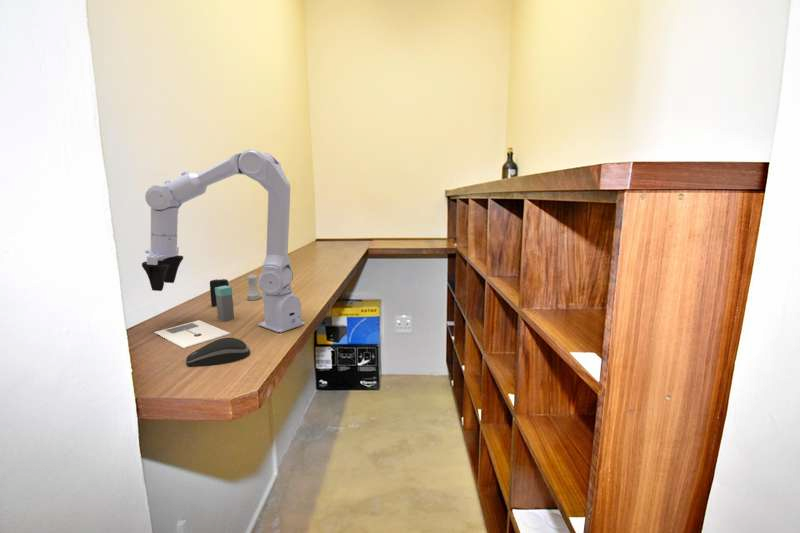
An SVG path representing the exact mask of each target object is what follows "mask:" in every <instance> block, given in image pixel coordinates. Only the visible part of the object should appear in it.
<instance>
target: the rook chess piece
mask: <svg viewBox="0 0 800 533" xmlns="http://www.w3.org/2000/svg"><path fill="white" fill-rule="evenodd" d="M246 279H247V280H248V281H247V284H248V291H247V293H246V296H247V297H246V299H247V300H248V301H257V300H261V297H262V296H261V292H260V290H259V289H258V288H259V287H258V285H257V284H258V281H257V279H259V277H258V276H257V274H256V273H251V274H248V275H247V277H246Z"/></svg>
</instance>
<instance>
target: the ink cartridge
mask: <svg viewBox="0 0 800 533" xmlns="http://www.w3.org/2000/svg"><path fill="white" fill-rule="evenodd" d="M225 285H226V286H229V285H230V284H229V279H226V278H225V279H224V278H221V279H212V280H210V281H209V291H210V301H211V302H210V303H211V306H212V307H217V302H216V295H215V287H220V286H225Z"/></svg>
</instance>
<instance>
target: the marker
mask: <svg viewBox="0 0 800 533" xmlns="http://www.w3.org/2000/svg"><path fill="white" fill-rule="evenodd" d="M215 295H216V302H217V306H216V312H217V320H219V321H222V322H226V321H230V320H234V319H235V311H234V302H233V301H234V300H233V287H232V286H226V285H225V286H220V287H215Z"/></svg>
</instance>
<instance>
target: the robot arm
mask: <svg viewBox="0 0 800 533" xmlns="http://www.w3.org/2000/svg"><path fill="white" fill-rule="evenodd" d="M281 164H282V163H280V161H278V160H277V158H275V157H274V156H273V155H272V154H270V153H267V152H262V151H258V150H256V149H250V148H249V149H246V150H244V151H243V152H238V153H236V154H233V155H231V156H230V157H228V158H226V159H225V160H223V161H220V162H218V163H217V164H215V165H213V166H211V167H209V168H207V169H206V170H204V171H202V172H200V173H197V172H194V171H183V172H181V173H180V176H179V177H177V178H174V179H173V180H165V181H164V182H163V186H162V185H159V184H158V185H156V184H155V185H151V187H149V188H148V189H147V191H146V192H145V195H144V196H145V199H144V200H145V202H146V204H147V206H148V207H150V249H149V248H148V249H146V250H145V251H144V253H145V254H147V255H148V256H146V261H143V262H142V263H141V267H142V269H143V270H144V271H145V273H146V275H147V277H148V281H149V284H150V287H151V290H152V291H154V292H155V291H156V292H158V291H159V292H162V291H163V289H164V286H165V283H168V284H174V283H175V280H176V277H177V273H178V270H179V268H180V265H181V263H182V261H183V260H184V256H183V255H179V248H180V247H178V222H179V221H178V218H179V217H178V216H179V215H178V214H179V209H180V208H181V206H183V204H184V203H186V202H189V201H190V200H192V199H195V198H198V197H200V196H202V195H204V194H205V193H206V191H207V188H208V186H211V185H213V184H215V183H218V182H220V181H223V180H225V179H227V178H230V177H232V176H235V175H242V176H243V175H244V176H246V177H248V178H250V179H252V180H254V181H256V182H257V183H258V184H260V185H261V187H263V188H264V190H266V192H267V219H266V222H267V224H266V225H267V226H266V256H265V258H264V261H263V263H262V269H261V273H260V275H259V277H258V281H257V284H258V286H259V287H258V288H259V289H260V290H261V292H262V298H263V311H264V312H263V313H264V321H262V322H258V324H257V325H258V326H260V327H263V328H266V329H267V330H270V331H273V332H277V333H279V332H280V333H284V332H286V331H288V330H292V329H294V328H297V327H298V328H299V327H301V326H303V325H305V322H304V321H303V318H302V317H303V316H302V303H301V300H300V299H299V297H298V296H296V295H295V294H294V292H293V288H292V285H291V283H292V282H293V280H294V271H293V269H292V267H291V259H290V257H289V255H288V253H289V229H290V226H289V225H290V207H291V184H290V182H289V179H288V178H287V176H286V175H285V174H286V173H285V172H284V170H283V168H282V166H281Z"/></svg>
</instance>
